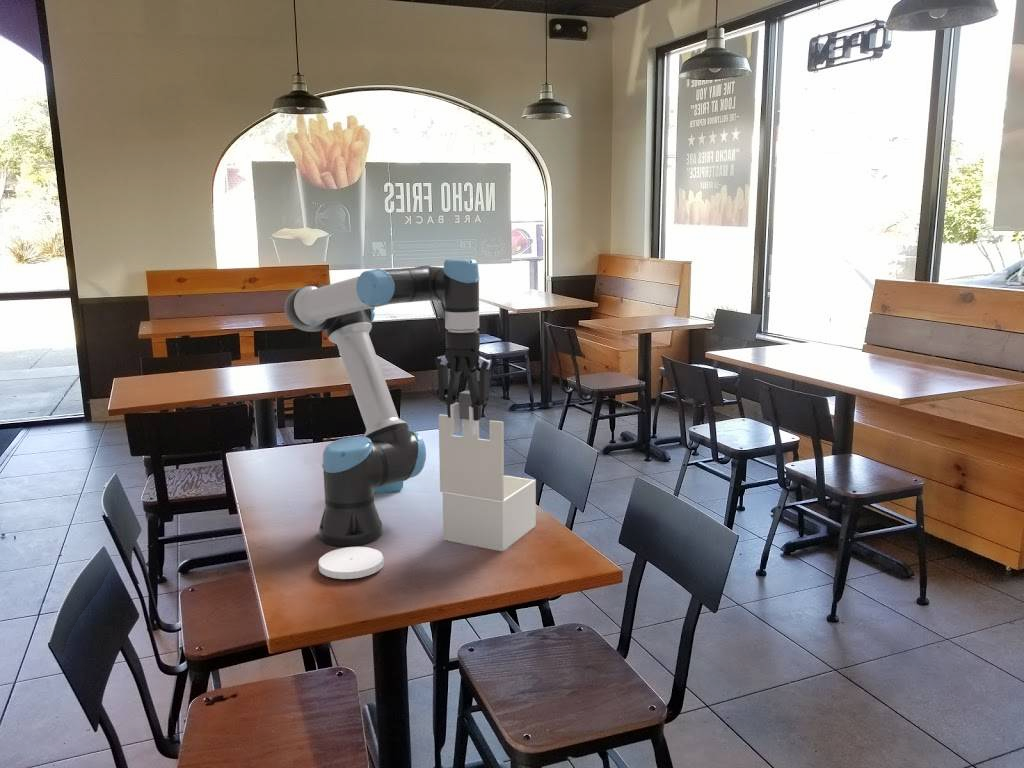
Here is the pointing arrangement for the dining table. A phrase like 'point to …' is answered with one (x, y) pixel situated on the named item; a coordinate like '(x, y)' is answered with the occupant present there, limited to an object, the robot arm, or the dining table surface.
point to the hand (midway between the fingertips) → (464, 432)
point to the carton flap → (471, 457)
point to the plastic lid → (351, 562)
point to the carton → (491, 516)
